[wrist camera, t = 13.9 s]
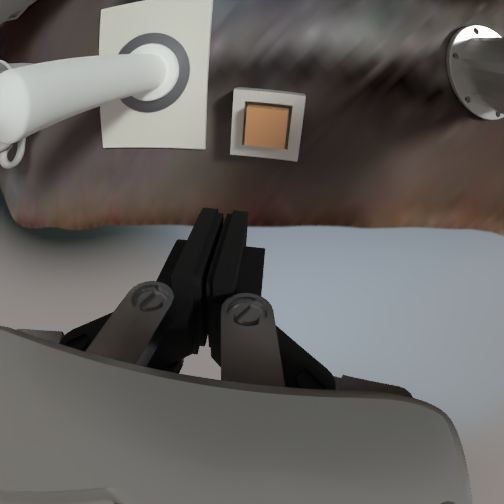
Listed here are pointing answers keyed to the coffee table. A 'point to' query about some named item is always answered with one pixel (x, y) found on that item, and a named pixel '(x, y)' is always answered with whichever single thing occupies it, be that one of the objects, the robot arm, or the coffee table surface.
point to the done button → (266, 126)
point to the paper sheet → (188, 83)
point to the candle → (80, 87)
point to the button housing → (273, 99)
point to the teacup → (4, 148)
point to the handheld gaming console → (13, 9)
